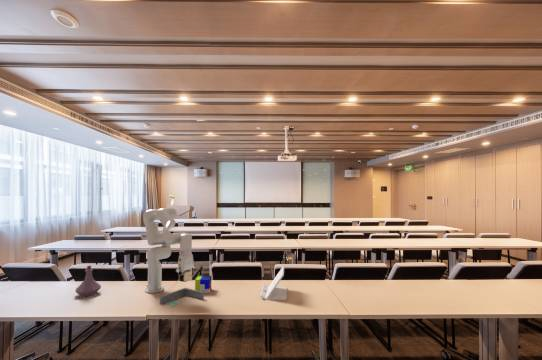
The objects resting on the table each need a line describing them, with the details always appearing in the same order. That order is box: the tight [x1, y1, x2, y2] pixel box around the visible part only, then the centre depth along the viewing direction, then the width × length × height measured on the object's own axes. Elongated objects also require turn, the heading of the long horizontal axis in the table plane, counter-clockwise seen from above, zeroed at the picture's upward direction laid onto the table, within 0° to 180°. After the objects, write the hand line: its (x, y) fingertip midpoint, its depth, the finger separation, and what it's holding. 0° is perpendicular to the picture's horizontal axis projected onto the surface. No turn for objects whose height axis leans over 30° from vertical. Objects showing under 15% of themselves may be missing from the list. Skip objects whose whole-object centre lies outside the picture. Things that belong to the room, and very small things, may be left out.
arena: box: [159, 287, 205, 307], centre depth 188 cm, size 18×21×5 cm
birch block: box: [181, 270, 193, 283], centre depth 189 cm, size 6×6×6 cm
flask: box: [75, 265, 102, 298], centre depth 203 cm, size 16×16×20 cm
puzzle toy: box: [194, 275, 212, 294], centre depth 209 cm, size 10×10×10 cm
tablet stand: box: [260, 265, 288, 301], centre depth 205 cm, size 18×25×17 cm
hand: (185, 279), depth 189 cm, fingers closed on birch block, 6 cm apart
